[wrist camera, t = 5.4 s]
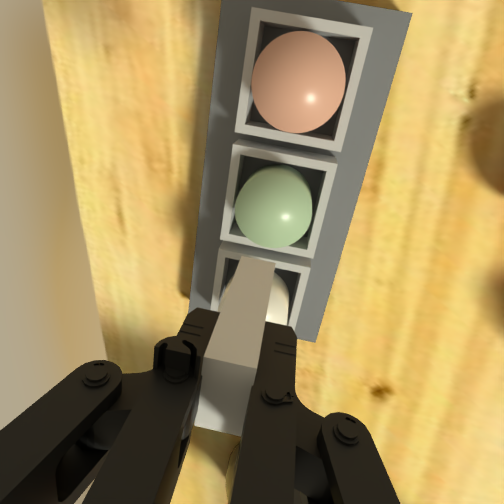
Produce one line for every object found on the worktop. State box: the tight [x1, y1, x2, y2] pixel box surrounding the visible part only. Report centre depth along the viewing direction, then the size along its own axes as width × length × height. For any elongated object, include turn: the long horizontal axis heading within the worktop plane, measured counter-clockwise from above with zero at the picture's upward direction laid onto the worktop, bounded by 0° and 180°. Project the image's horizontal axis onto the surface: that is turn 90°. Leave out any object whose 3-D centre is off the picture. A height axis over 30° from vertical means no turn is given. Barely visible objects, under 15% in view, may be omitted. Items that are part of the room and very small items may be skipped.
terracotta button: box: [251, 31, 346, 133], centre depth 23 cm, size 5×5×3 cm
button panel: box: [188, 0, 412, 342], centre depth 29 cm, size 26×12×4 cm, turn 171°
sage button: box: [235, 164, 312, 248], centre depth 27 cm, size 5×5×3 cm
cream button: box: [218, 273, 289, 325], centre depth 30 cm, size 5×5×3 cm
